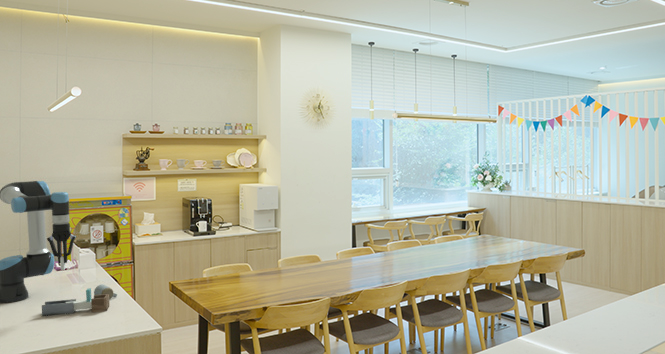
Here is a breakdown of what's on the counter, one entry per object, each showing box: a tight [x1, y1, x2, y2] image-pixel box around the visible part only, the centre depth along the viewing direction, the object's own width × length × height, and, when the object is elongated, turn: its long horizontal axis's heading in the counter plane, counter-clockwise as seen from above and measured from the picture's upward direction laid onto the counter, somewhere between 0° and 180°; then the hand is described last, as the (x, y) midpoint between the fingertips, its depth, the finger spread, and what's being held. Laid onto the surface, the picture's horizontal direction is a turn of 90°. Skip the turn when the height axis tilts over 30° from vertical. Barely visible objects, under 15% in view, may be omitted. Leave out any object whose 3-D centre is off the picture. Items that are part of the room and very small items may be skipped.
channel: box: [41, 298, 77, 317], centre depth 245 cm, size 6×14×6 cm, turn 106°
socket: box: [91, 294, 110, 313], centre depth 250 cm, size 8×7×6 cm
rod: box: [66, 287, 92, 311], centre depth 248 cm, size 4×18×10 cm, turn 106°
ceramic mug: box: [93, 284, 118, 300], centre depth 267 cm, size 11×8×8 cm
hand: (63, 269), depth 245 cm, fingers closed
